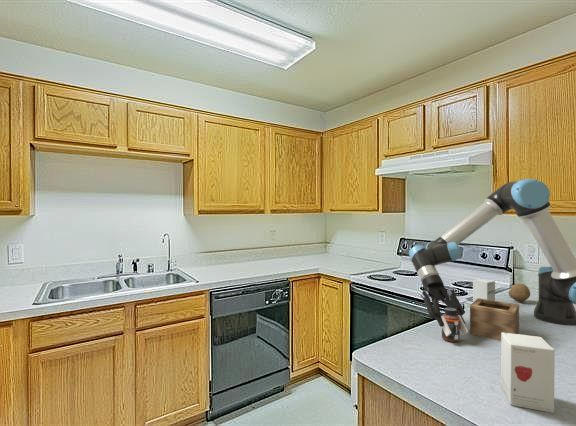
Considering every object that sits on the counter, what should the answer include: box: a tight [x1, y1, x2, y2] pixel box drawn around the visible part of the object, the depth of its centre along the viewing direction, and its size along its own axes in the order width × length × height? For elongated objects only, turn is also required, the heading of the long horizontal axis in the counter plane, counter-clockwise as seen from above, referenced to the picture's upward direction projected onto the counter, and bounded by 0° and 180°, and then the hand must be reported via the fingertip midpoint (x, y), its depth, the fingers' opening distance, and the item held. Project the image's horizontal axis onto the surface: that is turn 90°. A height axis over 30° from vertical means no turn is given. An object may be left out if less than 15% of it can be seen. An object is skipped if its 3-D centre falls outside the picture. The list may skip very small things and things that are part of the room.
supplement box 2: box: [500, 332, 556, 414], centre depth 80 cm, size 9×9×15 cm
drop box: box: [469, 298, 520, 342], centre depth 125 cm, size 14×14×11 cm
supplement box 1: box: [472, 278, 496, 303], centre depth 163 cm, size 7×7×13 cm
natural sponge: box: [508, 282, 531, 303], centre depth 168 cm, size 9×9×10 cm
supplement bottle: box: [441, 307, 461, 343], centre depth 119 cm, size 6×6×11 cm
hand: (457, 334), depth 115 cm, fingers closed on supplement bottle, 6 cm apart
